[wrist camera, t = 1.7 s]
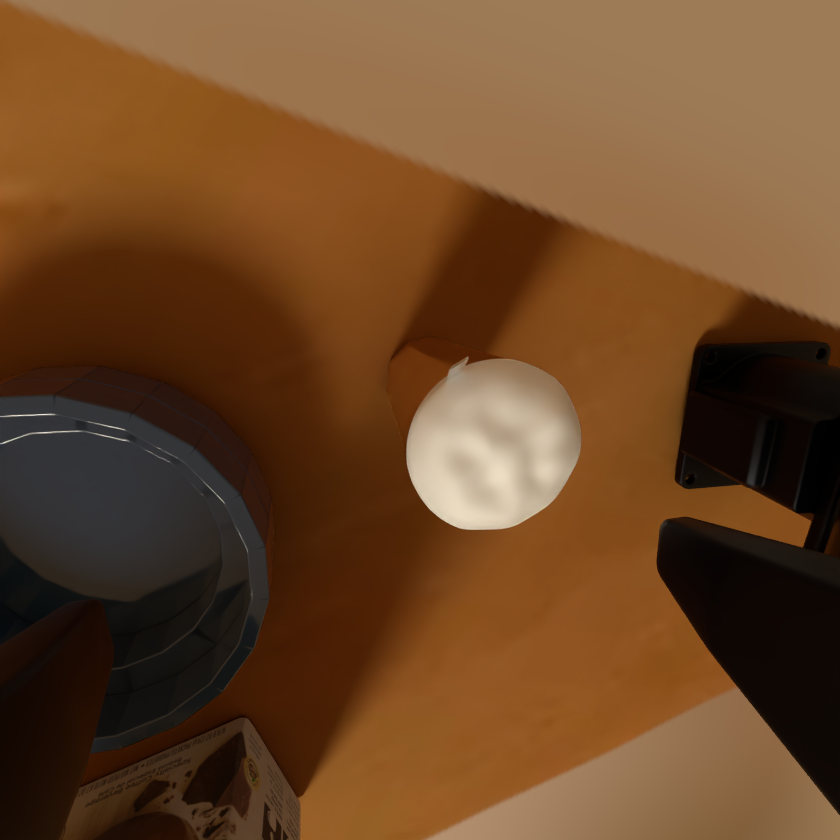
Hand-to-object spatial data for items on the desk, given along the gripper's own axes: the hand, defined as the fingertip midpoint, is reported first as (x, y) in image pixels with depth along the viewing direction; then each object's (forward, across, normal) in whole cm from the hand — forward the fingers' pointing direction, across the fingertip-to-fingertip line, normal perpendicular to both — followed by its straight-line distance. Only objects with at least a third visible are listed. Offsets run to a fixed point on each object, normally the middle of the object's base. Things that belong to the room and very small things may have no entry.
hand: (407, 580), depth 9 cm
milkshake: (+13, -3, 0) cm, 14 cm away
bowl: (+13, +9, +4) cm, 17 cm away
